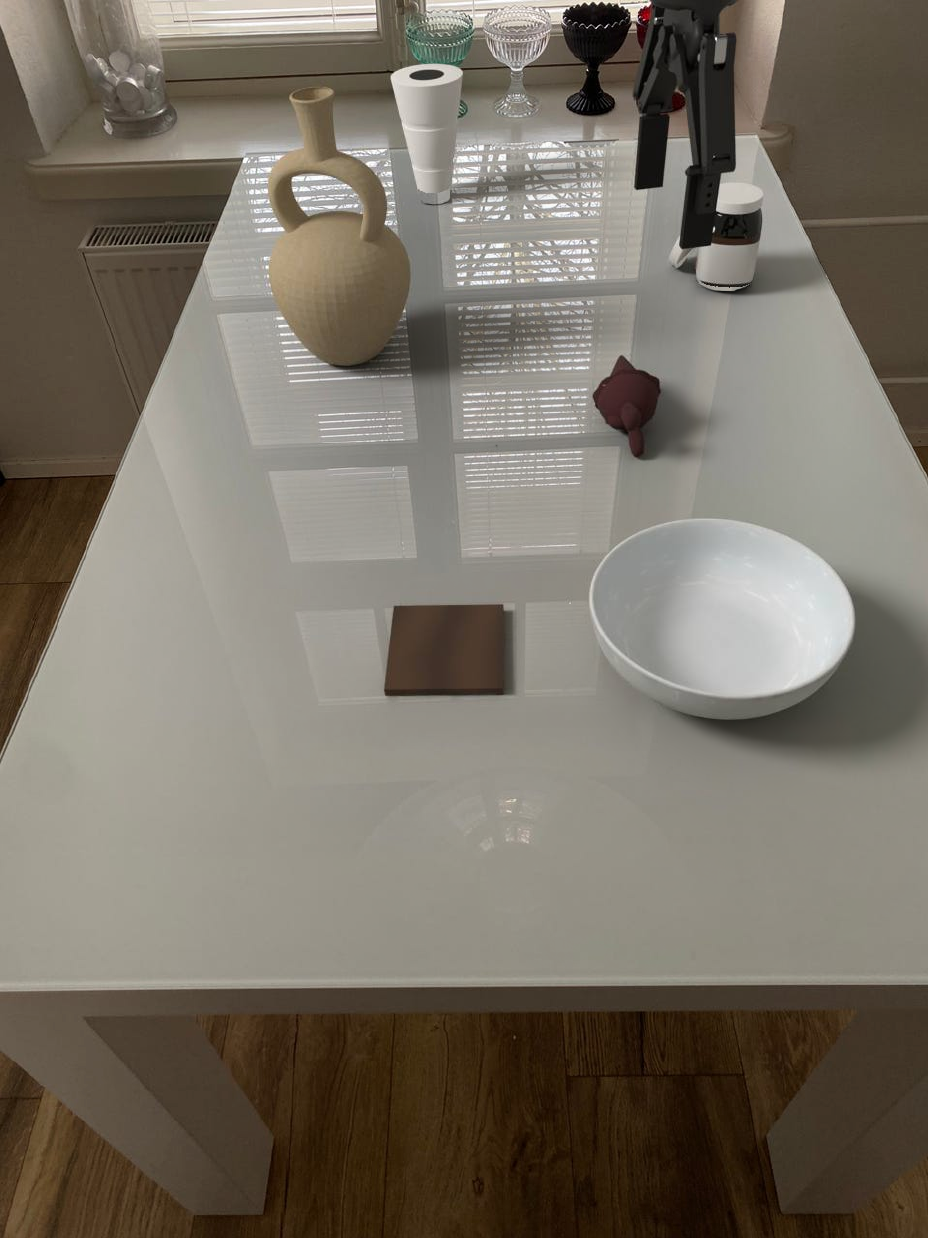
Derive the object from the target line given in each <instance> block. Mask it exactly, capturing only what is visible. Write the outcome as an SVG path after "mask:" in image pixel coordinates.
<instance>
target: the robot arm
mask: <svg viewBox="0 0 928 1238" xmlns="http://www.w3.org/2000/svg"><path fill="white" fill-rule="evenodd" d="M738 1H739V0H649V2H650V12H649V21H648V25H647V26H648V27H647V30H646V34H645V37H644V38H645V39H644V43H643V47H642V51H641V55H640V58H639V63H638V66H637V67H638V68H637V71H636V76H635V80H634V84H633V87H632V93H631V94H632V97H633V100H634V101H637V111H638V114H639V115H641V116H639V118H638V119H639V120H638V131H637V145H636V155H635V156H636V157H635V158H636V159H635V170H634V182H633V184H634V185H633V188H634V190H636V191H640V190H650V189H657V188H659V189H660V188H663V187H664V178H665V177H664V176H665V168H666V159H667V151H668V150H667V148H668V139H669V138H668V137H669V129H670V117H671V115H670V114H668V113H661V112H670V111H674V108H673V107H674V104H673V100H672V98H673V95H674V94H675V92H676V89H677V90H678V91H679V92H680V93H681V94H683V96H684V102H685V103H684V104H685V111H686V119H687V120H686V121H687V128H688V136H689V137H688V138H689V145H690V152H691V153H690V154H691V161H692V165H688V167H687V168H685V170H684V174H685V176H686V183H685V189H684V198H683V207H682V208H683V209H682V217H681V225H680V235H679V236H680V241H679V246H680V248H681V249H688V248H695V249H697V248H698V247H704V246H711V243H712V236H713V229H714V221H715V214H716V207H717V200H718V193H719V186H720V184H721V179H722V174H727V173H733V172H735V170H736V168H737V150H736V149H737V147H736V145H737V144H736V105H735V104H736V103H735V102H736V100H735V58H736V49H737V34H736V32H726V33H721V28H720V25H721V24H720V23H721V17H720V15H721V13H722V11H723V10H724V9H725V8H727V7H730V6H733V5H735V4H736V3H737V2H738Z"/></svg>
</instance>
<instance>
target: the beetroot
mask: <svg viewBox="0 0 928 1238" xmlns="http://www.w3.org/2000/svg"><path fill="white" fill-rule="evenodd" d="M661 393H662V389H661V381H660V379H659V378H658V377H657V376H655V375H652V374H650V373H649V372H648V371H646V370H643V369H637V368H636V367H634V365H633V364H632V363H631V362H630V361H629V360H628V359H627V358H626V356H625V355H622V354H620V355H619V356H618V357H617V360H616V361H615V364H614V365H613V368H612V369H611V372H610V375H609V376H606V377H605V378H603V379H602V380H601V381H600V383H599V384H598V386H597V388H596V389H595V390H594V391H593V392H592V400H593V403H594V407H595V409H597V410H598V412H599V414H600V415H601V417H602V418H603V419H604V422H605V424H606V425H608V426H610V427H611V428H612V429H615V430H617V431H622V432H625V433H627V432H628V433H627V435H628V446H629V449H630V453H631V454H632V456H633V457H634V458H640V457H641V456H643V454H644V453H645V450H646V449H645V448H646V439H645V436H644V433H643V431H642V429H643V428H644V427H645V426H646V425H647V424H648V423H649V422H651V421H652V419H653V418H654V417H655V415H656V411H657V405H658V401H659V397H660V395H661Z"/></svg>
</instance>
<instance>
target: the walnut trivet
mask: <svg viewBox="0 0 928 1238" xmlns="http://www.w3.org/2000/svg"><path fill="white" fill-rule="evenodd" d="M504 605H505V604H503V603H494V604H491V603H490V604H489V603H488V604H486V603H485V604H483V603H482V604H428V605H427V604H425V605H424V604H422V605H421V604H419V605H418V604H417V605H393V609H392V618H391V626H390V635H389V643H388V650H387V652H388V653H387V660H386V668H385V669H386V670H385V677H384V685H383V686H384V687H383V691H384V692H383V693H384V696H449V695H450V696H451V695H452V696H453V695H454V696H455V695H456V696H457V695H458V696H459V695H460V696H461V695H464V696H465V695H467V696H468V695H504V694H505V692H504V691H505V690H504V689H505V688H504V684H505V683H504V682H505V678H504V677H505V676H504V675H505V674H504V673H505V671H504V669H505V667H504V665H505V664H504V663H505V662H504V661H505V660H504V659H505V657H504V656H505V655H504V654H505V653H504V651H505V650H504V649H505V646H504V645H505V639H504V637H505V636H504V634H505V633H504V632H505V631H504V630H505V627H504V626H505V620H504V619H505V617H504V615H505V610H504V608H505V607H504Z"/></svg>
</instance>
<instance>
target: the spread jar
mask: <svg viewBox="0 0 928 1238" xmlns="http://www.w3.org/2000/svg"><path fill="white" fill-rule="evenodd" d="M764 194H765V193H764V191H763V190H762V189H761V188H760V187H759V186H756V185H755V184H754V185H753V184H751V183H746V182H738V181H737V182H736V181H734V182H733V181H731V182H723V183H720V186H719V193H718V200H717V207H716V214H715V221H714V229H713V236H712V243H711V246H704V247H697V252H696V259H695V269H696V273H697V277H698V279H699V280H700V281H701V282H702V283H704V284H706V285H710V286H715V287H716V286H718V287H729V288H730V287H743V286H746V285H748V284H750V283H751V284H752V282H753V279H754V276H755V275H754V274H755V270H756V266H757V259H758V253H759V248H760V241H761V236H762V228H763V212H762V208H761V207H762V206H763V202H764V196H765V195H764ZM679 241H680V235H679V236H678V238H677V240H676V241H675V244H674V246H673V247H672V249H671V251H670V254H669V257H668V261H670V262H672V263H675V264H678V263H679V262H680V261H681V260H682V259H683V258H684V257H685V256H686V255H687V254H688V253H689V252H690V251H691V250H692V249H693V248H688V249H681V248H680V246H679ZM668 261H667V262H668ZM751 281H752V282H751ZM751 284H750V285H751Z"/></svg>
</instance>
